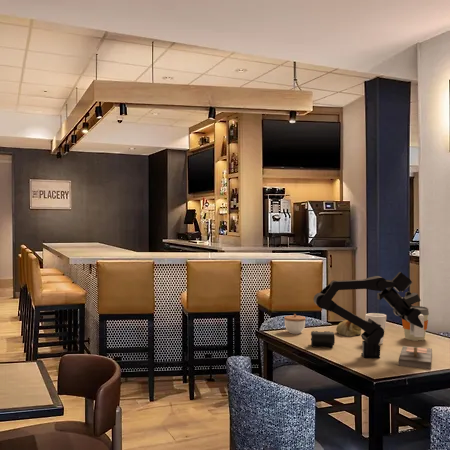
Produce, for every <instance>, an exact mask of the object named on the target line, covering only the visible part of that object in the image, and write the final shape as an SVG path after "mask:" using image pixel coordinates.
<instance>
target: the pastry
mask: <svg viewBox="0 0 450 450" xmlns="http://www.w3.org/2000/svg"><path fill="white" fill-rule="evenodd" d="M335 331H336V333H337V334H339V335H340V336H341V335H342V336H345V337H351V338H352V337H356V336H361V335H362V329H361V328H360V327H358V326H356V325H355V324H353V323H351V322H350V321H348V320H346V319H344V320H343V321H341V322H339V323H338V324H337V326H336V329H335Z"/></svg>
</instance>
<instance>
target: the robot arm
mask: <svg viewBox="0 0 450 450" xmlns="http://www.w3.org/2000/svg"><path fill="white" fill-rule="evenodd" d="M412 284H413V280H411V279H410V278H409V277H408V276H406V275H405V274H404V273H403V272H401V271H399V272H397V274H396V275H395V276H394V277H393V278H392V279H386V278H385V277H382V276H379V275H374V276H370V277H366V278H363V279H346V280H345V279H344V280H331V281H330V283H329V284H328V285H326V286H325V287H324V288H323V289H321V291H320V292H317V293H316V294H314V297H313V303H314V304H315V305H316V306H317V307H318V308H320V309H322V310H325V311H328V312H331V313H334V314H336V315H337V316H339V317H341V318H343V319H344V320H348V321H350V322H351V323H353V324H355V325H356V326H358V327H360V328H361V331H364V332H363V333H361V334H360V336H361V338H362V343H361V344H362V345H361V346H362V349H361V351H362V352H361V356H362V357H363V358H365V359H366V358H367V359H380V358H381V346H380V344H379V343H380V340H381V338H382V337H383V336H384V337H385V330H384V329H383V328H382V327H380V326H381V325H380V324H379V323H377V322H374V321H373V320H371V319H370V318H369V319H368V321H366V320H365V319H363V318H362V317H359V316H358V315H356V314H354V313H352V312H351V311H350V310H348V309H345V308H344V307H342V306H340V305H339V304H337V302H335V301H334V300H333V298H335V295H336V294H337V292H338V291H346V290H347V291H349V290H350V291H351V290H352V291H353V290H369V291H370V290H371V291H376V292H377V291H378V292H377V293H376V294H377V295H376V296H377V297H376V299H377V300H379V301H382V299H384V300H385V301H386V302H387V303H388V304H389V306H390V307H391V308H392V312H393V314H394V315H395V316H397V317H399V319H401V320H402V319H404V320H406V321H407V322H409V323H412V324H414V325H416V326H418V327H420V328H423V325H422V323H421V321H420V319H419V317H418V316H419V315H420V314H421V311H420V310H419V309H417V308H411V307H412V306H413V305H414V304H416V303H419V302H421V301H422V300H421V298H420V296H419V293H418V292H410V291H406V292H405V293H404V291H405V290H407V289H408V288H409V287H410V286H411V285H412ZM400 292H401V293H404V294H405V295H404V297H403V296H401V295H400V294H399V293H400ZM384 337H383V338H384Z"/></svg>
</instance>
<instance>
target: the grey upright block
mask: <svg viewBox="0 0 450 450" xmlns="http://www.w3.org/2000/svg"><path fill="white" fill-rule="evenodd" d="M418 317H419V319H420V321H421V323H422V325H423V328H420V327H418V326H416V325H414V324H412V323H410V335H414V337H424V315H422V314H420V315H419V316H418Z"/></svg>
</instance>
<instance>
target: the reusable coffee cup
mask: <svg viewBox="0 0 450 450" xmlns="http://www.w3.org/2000/svg"><path fill="white" fill-rule="evenodd" d="M411 308H417V309H419V310H420V311H421V314H422V315H424V337H414V335H410V323H409V322H407V321H406V320H404V319H402V318H401V322H402V328H403V330H404V331H403V332H404V339H406V340H409V341H418V340H422V341H425V337H426V332H427V329H428V324H429V319H428V318H429V317H428V316H429V314H430V313H429V307H427V306H421V305H412V307H411Z"/></svg>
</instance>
